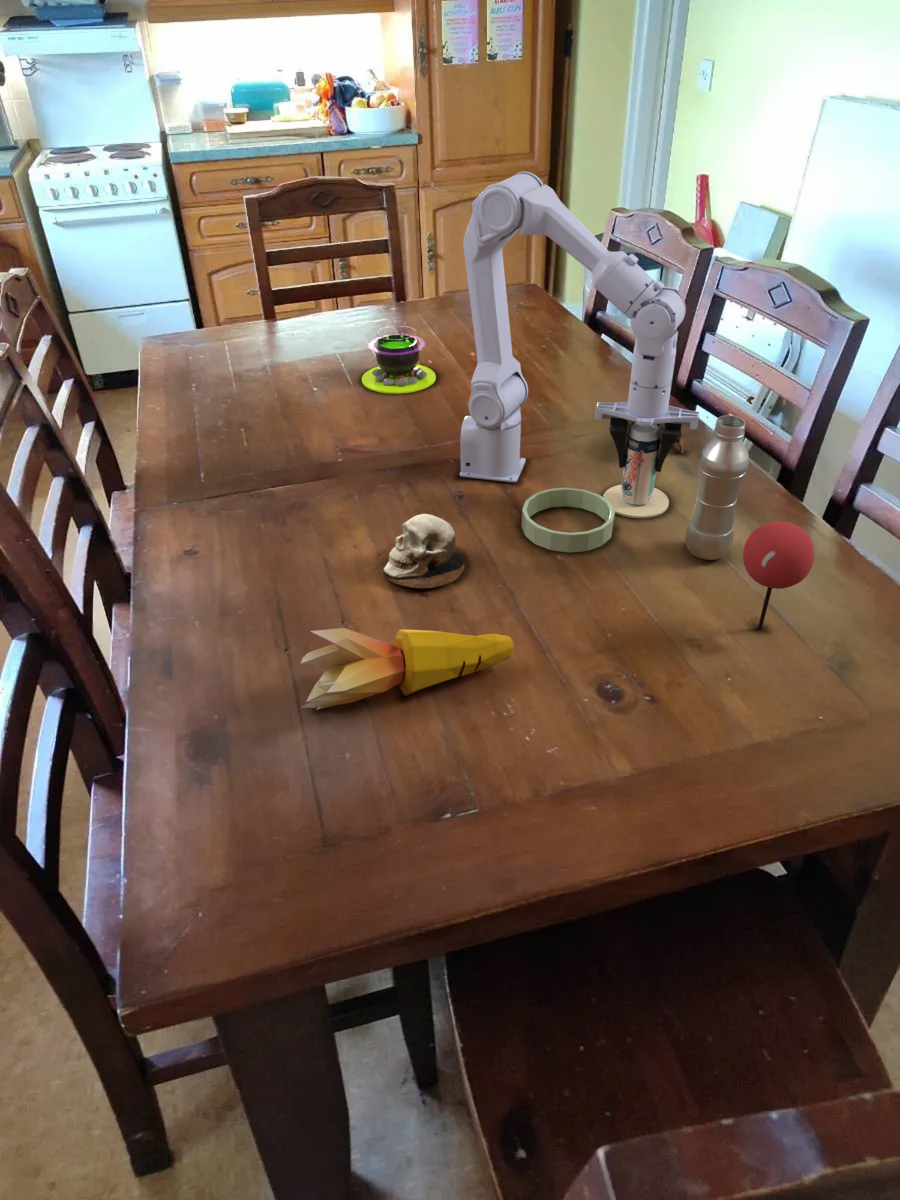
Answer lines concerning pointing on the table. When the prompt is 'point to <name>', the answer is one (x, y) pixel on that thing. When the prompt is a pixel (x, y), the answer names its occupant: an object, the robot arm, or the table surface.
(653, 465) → the beer can
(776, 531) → the lollipop
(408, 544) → the skull
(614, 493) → the coaster
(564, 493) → the ring
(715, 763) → the table surface
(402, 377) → the toy cauldron
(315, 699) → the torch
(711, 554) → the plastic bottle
